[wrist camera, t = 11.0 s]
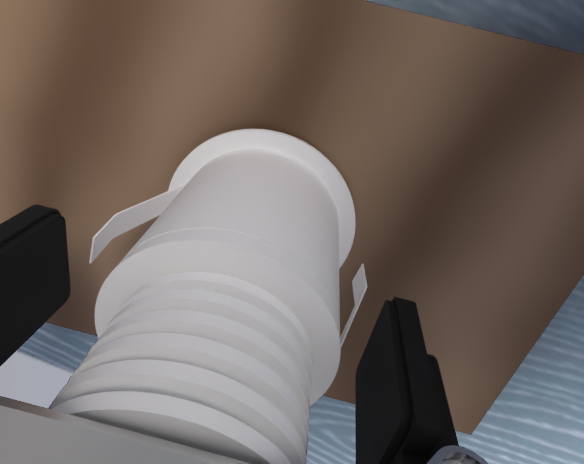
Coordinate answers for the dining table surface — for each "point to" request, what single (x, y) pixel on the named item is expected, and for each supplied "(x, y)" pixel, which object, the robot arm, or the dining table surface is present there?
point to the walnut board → (329, 141)
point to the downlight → (224, 302)
